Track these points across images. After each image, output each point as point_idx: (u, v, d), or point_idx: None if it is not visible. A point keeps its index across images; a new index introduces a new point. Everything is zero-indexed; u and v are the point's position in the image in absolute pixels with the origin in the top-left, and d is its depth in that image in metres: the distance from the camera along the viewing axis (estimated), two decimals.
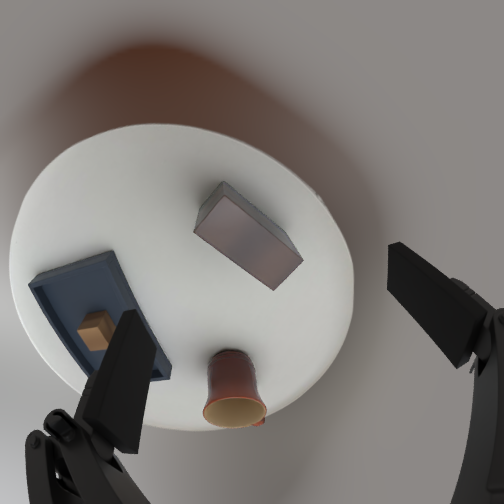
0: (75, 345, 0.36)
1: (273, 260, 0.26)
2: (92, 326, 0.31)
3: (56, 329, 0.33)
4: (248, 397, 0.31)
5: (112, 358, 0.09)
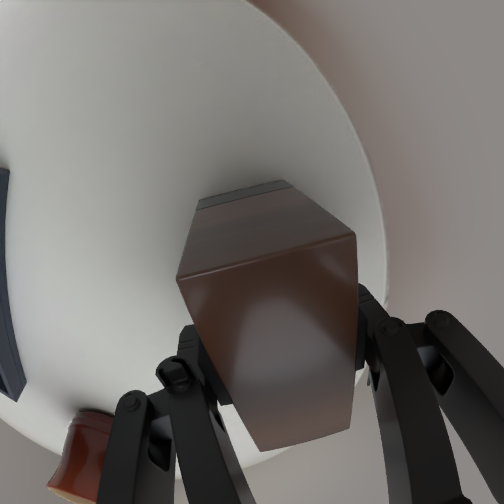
0: None
1: (308, 419, 0.09)
2: None
3: None
4: None
5: None
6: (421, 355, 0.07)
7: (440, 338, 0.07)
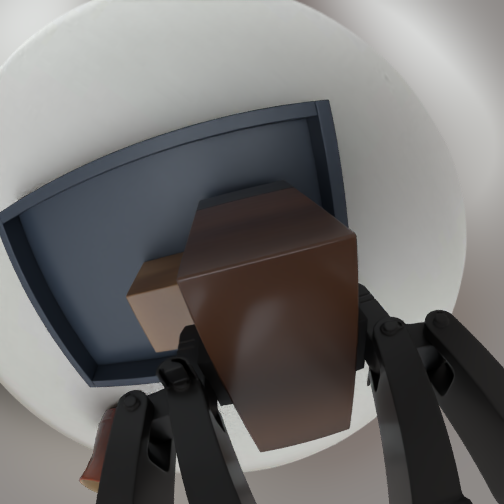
0: (96, 176, 0.13)
1: (308, 420, 0.09)
2: None
3: (164, 147, 0.12)
4: None
5: None
6: (421, 355, 0.07)
7: (440, 338, 0.07)
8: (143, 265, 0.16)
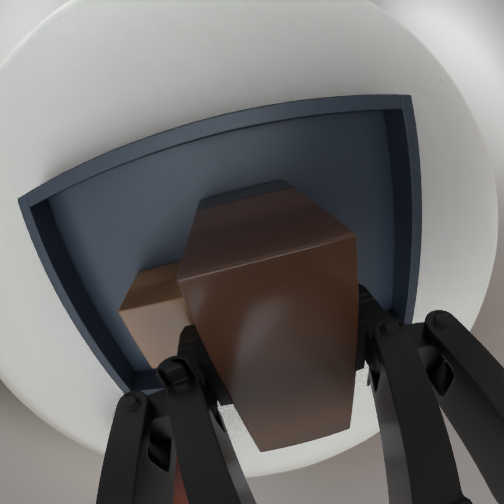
0: (159, 152, 0.12)
1: (308, 420, 0.09)
2: None
3: (257, 122, 0.11)
4: None
5: None
6: (421, 355, 0.07)
7: (440, 338, 0.07)
8: (137, 275, 0.14)
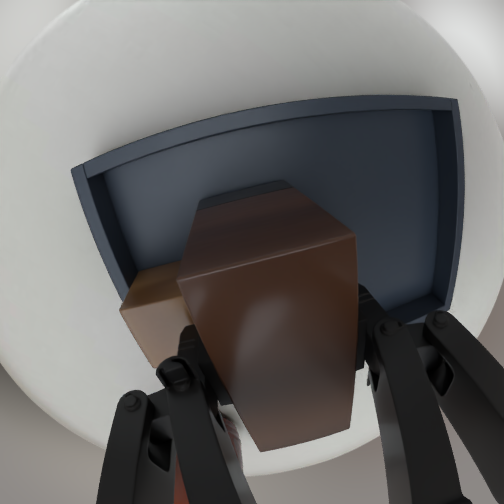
0: (244, 129, 0.12)
1: (308, 419, 0.09)
2: None
3: (346, 109, 0.11)
4: None
5: None
6: (421, 355, 0.07)
7: (440, 338, 0.07)
8: (138, 274, 0.14)
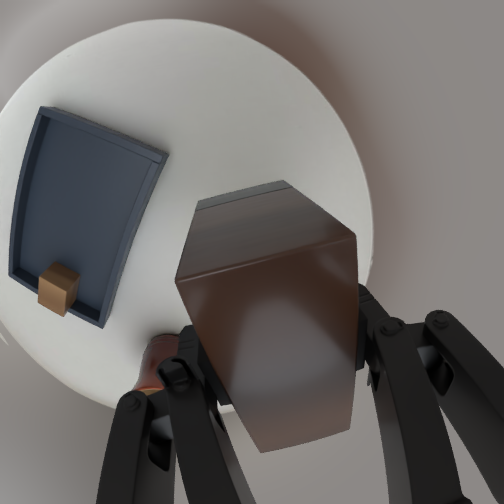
0: (23, 216, 0.23)
1: (308, 420, 0.09)
2: (60, 286, 0.24)
3: (21, 182, 0.20)
4: None
5: None
6: (421, 355, 0.07)
7: (440, 338, 0.07)
8: None
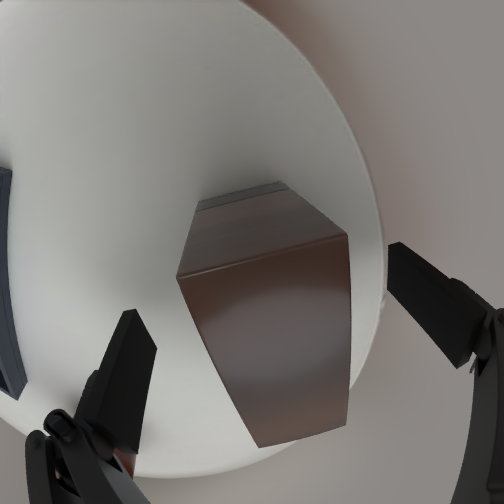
0: None
1: (305, 415, 0.10)
2: None
3: None
4: None
5: (112, 358, 0.09)
6: None
7: None
8: None
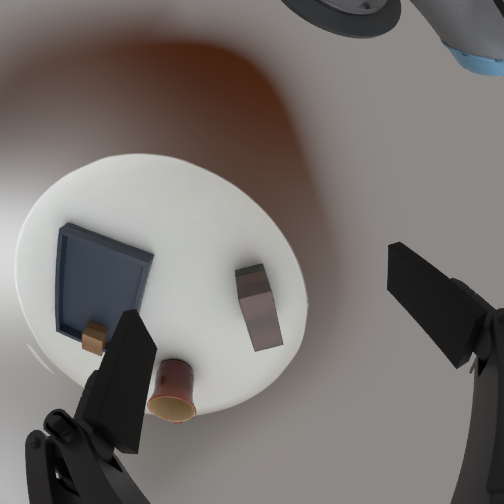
0: (62, 294, 0.39)
1: (268, 336, 0.38)
2: (97, 338, 0.39)
3: (58, 276, 0.36)
4: (190, 403, 0.40)
5: (112, 358, 0.09)
6: None
7: None
8: None
